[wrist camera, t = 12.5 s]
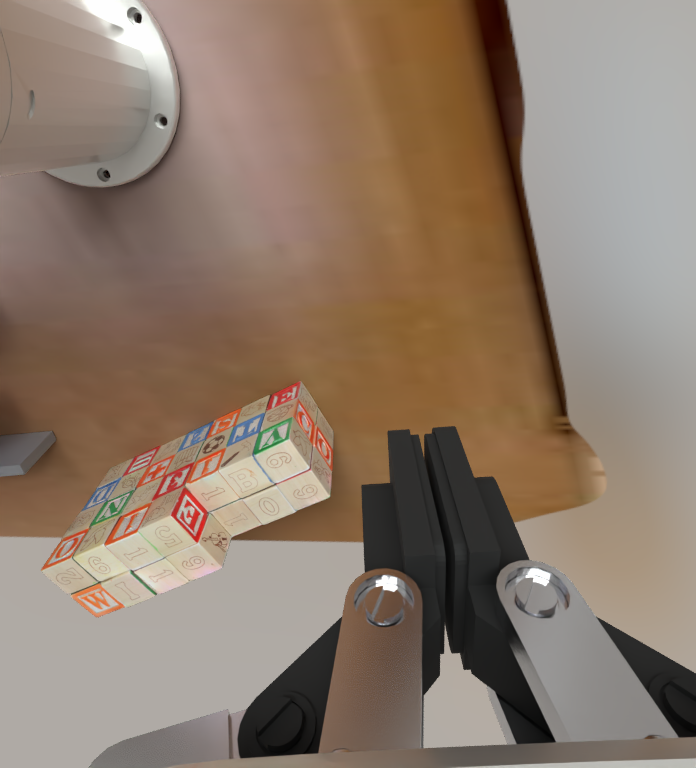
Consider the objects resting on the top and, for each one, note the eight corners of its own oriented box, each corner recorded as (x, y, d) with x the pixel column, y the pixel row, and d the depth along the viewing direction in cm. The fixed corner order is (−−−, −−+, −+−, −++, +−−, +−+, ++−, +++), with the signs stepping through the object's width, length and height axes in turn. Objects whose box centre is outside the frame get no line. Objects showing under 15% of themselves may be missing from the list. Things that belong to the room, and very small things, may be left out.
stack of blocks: (301, 377, 41) (286, 465, 31) (335, 430, 44) (332, 528, 33) (108, 468, 46) (36, 573, 35) (149, 511, 49) (94, 621, 38)
